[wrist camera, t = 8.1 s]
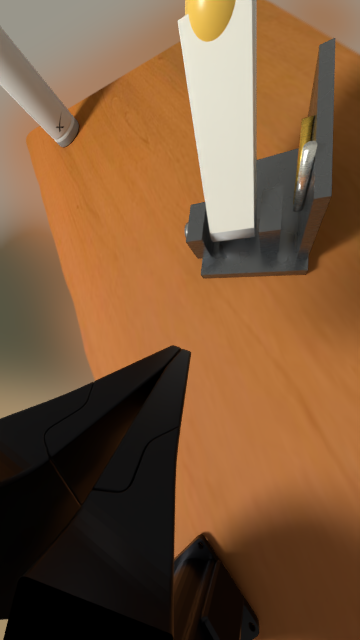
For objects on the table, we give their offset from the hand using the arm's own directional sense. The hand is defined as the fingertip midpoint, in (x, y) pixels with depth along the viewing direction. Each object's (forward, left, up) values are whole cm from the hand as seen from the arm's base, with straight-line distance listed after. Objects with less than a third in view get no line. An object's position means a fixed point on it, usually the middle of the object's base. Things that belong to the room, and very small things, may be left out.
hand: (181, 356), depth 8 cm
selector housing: (+12, +8, -13) cm, 20 cm away
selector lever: (+9, +7, -10) cm, 16 cm away
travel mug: (+13, +57, -13) cm, 59 cm away
